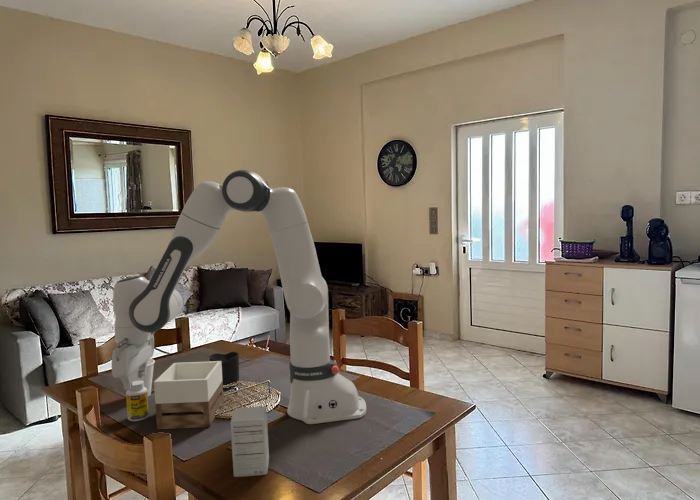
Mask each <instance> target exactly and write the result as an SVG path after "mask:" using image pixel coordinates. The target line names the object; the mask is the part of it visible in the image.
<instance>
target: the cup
mask: <svg viewBox="0 0 700 500" xmlns="http://www.w3.org/2000/svg"><path fill="white" fill-rule="evenodd" d="M155 363H156V361H155V359H152V358H150V359H148V360H147V367H146V376H144V377H143V378H138V371H139V367H138V368H137V369H136V370H135V371H133V372H132V373H131V377H130V381H131V382H133V381H143V382H144V387H146V388H147V393H148V398H149V397H151V395H152V385H153V378H154V377H153V376H154V366H155Z"/></svg>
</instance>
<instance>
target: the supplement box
mask: <svg viewBox="0 0 700 500" xmlns="http://www.w3.org/2000/svg"><path fill="white" fill-rule="evenodd" d="M267 414H268V412H267V406H265V405H264V406H248V407H237V408H234V410H233V413H232V416H231V419H230V437H231V439H230V440H231V441H230V442H231V454H232V455H231V457H232V469H233V477H234V478H241V477H253V476H255V477H256V476H264V475H265V476H267V474H268V471H269V464H270V451H269V447H270V446H269V433H268V432H269V431H268V415H267Z"/></svg>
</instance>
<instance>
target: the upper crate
mask: <svg viewBox="0 0 700 500" xmlns="http://www.w3.org/2000/svg"><path fill="white" fill-rule="evenodd" d="M222 381H223V380H222V363H221V361H210V360H209V361H192V362H191V361H189V362H187V361H186V362H185V361H184V362H174V363H172V364H171V365H170V366H169V367H168V368H167V369H166V370H165V371H164V372H163V373H162V374H161V375H159V376H158V377H157V378H156V379H155V380H154V381H153V388H154V400H155V401H154V403H155V405H156V404H163V403H187V402H209V400H210V399H211V397H212V396H213V394H214V393H215V391H216V390H217V388H218V387H219V385H220V384H221V382H222Z"/></svg>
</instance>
